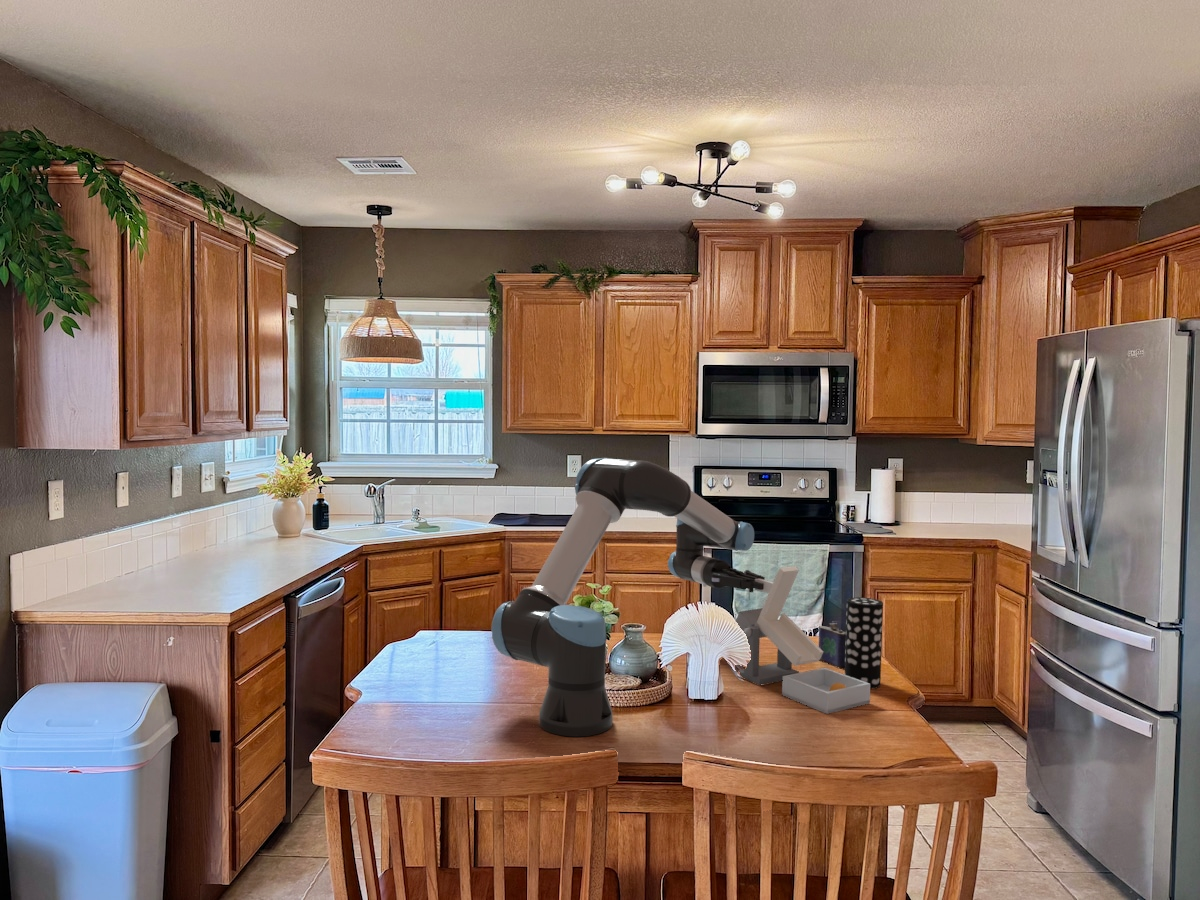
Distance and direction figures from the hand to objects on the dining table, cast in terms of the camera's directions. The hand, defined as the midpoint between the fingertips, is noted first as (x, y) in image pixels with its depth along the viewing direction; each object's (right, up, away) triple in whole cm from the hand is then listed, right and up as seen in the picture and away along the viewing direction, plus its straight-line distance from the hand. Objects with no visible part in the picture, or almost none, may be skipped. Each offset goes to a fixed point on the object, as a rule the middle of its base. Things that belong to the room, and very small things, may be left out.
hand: (775, 588), depth 205 cm
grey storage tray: (+8, -23, -14) cm, 28 cm away
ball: (+11, -20, -17) cm, 28 cm away
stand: (-1, -22, +2) cm, 22 cm away
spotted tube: (+21, -23, -2) cm, 31 cm away
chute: (-1, -16, +1) cm, 16 cm away
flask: (+18, -22, +14) cm, 32 cm away
